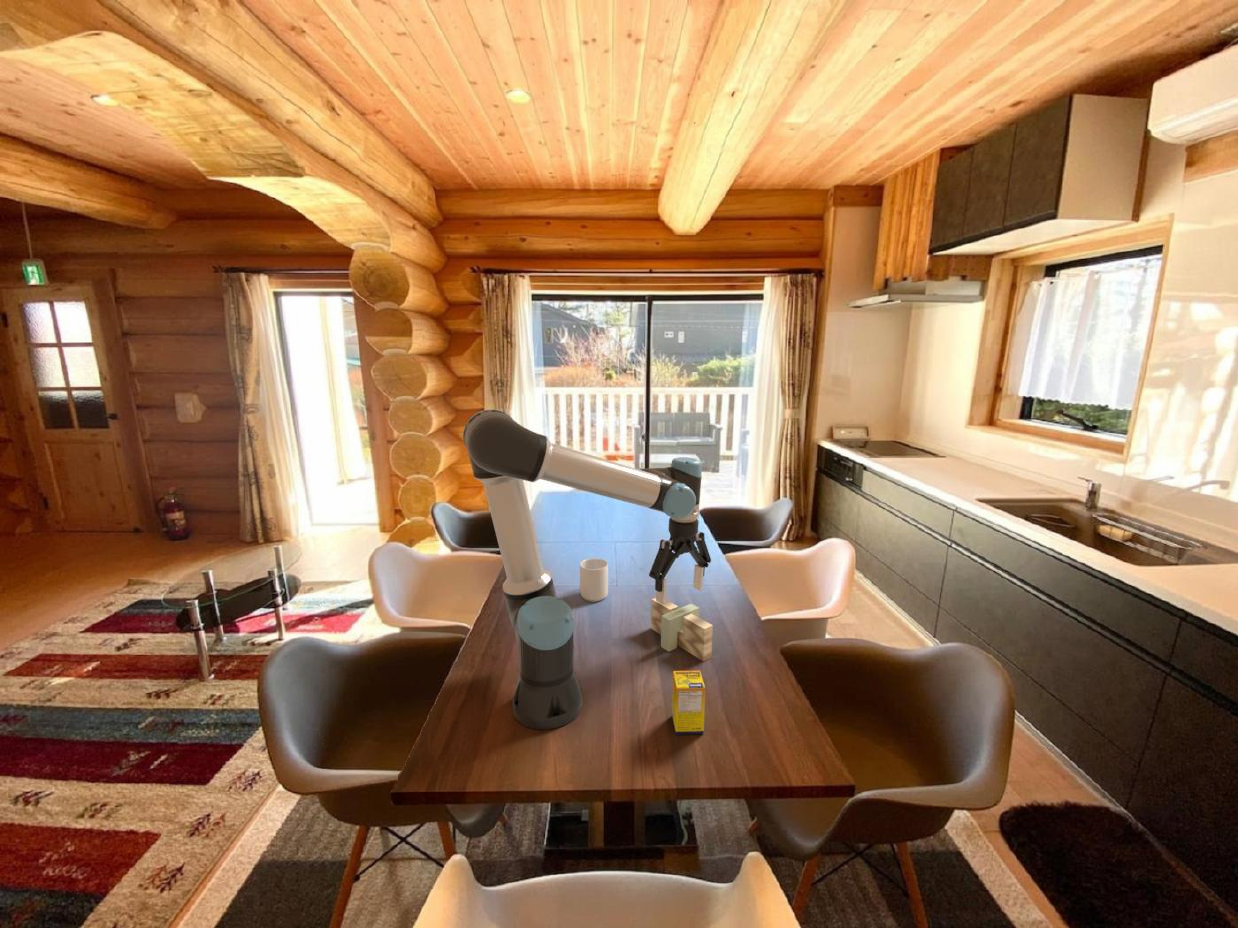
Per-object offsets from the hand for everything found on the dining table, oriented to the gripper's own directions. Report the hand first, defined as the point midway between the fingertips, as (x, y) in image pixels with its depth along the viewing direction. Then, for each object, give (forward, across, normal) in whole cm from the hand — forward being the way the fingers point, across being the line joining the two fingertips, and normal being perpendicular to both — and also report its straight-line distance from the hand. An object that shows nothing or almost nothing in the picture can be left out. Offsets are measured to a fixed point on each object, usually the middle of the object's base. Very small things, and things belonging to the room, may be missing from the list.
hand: (679, 595), depth 136 cm
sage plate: (+14, +1, 0) cm, 14 cm away
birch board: (+14, +1, 0) cm, 14 cm away
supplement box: (+14, -20, -24) cm, 34 cm away
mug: (+14, -1, +37) cm, 39 cm away
